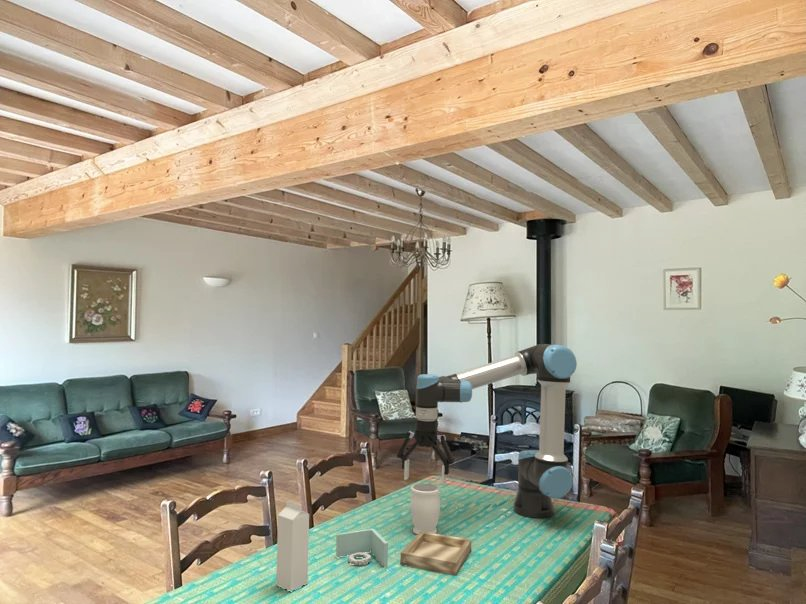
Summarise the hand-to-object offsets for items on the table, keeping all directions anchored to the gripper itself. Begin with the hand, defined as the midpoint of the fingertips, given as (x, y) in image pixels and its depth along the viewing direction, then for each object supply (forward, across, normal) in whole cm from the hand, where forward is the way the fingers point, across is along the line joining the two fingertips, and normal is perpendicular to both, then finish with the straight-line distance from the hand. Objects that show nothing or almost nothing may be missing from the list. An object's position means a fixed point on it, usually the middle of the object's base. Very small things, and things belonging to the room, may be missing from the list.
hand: (424, 481), depth 182 cm
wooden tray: (+17, +10, -18) cm, 27 cm away
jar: (+17, 0, 0) cm, 17 cm away
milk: (+18, -21, -50) cm, 57 cm away
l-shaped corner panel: (+18, -10, -30) cm, 36 cm away
